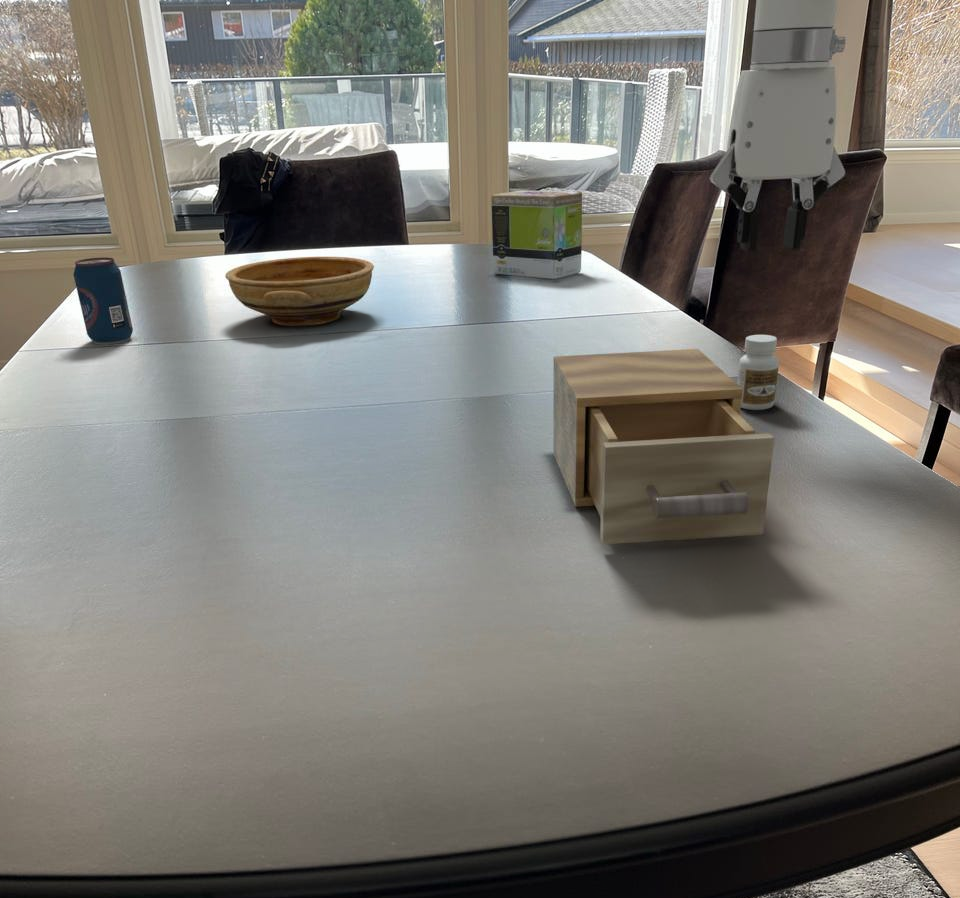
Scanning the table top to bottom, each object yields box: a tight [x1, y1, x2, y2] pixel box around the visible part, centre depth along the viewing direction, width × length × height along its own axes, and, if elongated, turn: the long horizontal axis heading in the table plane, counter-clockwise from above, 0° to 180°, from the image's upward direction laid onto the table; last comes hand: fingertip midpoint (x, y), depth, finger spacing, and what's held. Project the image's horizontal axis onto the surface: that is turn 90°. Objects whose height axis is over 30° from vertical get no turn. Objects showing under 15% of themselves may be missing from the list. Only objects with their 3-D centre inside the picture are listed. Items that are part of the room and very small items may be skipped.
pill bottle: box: [736, 334, 780, 411], centre depth 112 cm, size 4×4×8 cm
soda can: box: [72, 256, 134, 346], centre depth 152 cm, size 7×7×12 cm
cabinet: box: [552, 348, 743, 508], centre depth 93 cm, size 15×15×10 cm
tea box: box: [490, 189, 583, 280], centre depth 189 cm, size 15×10×15 cm
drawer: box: [584, 399, 775, 545], centre depth 82 cm, size 18×13×8 cm
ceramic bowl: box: [225, 256, 375, 327], centre depth 162 cm, size 30×24×8 cm
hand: (769, 247), depth 105 cm, fingers open, 4 cm apart
